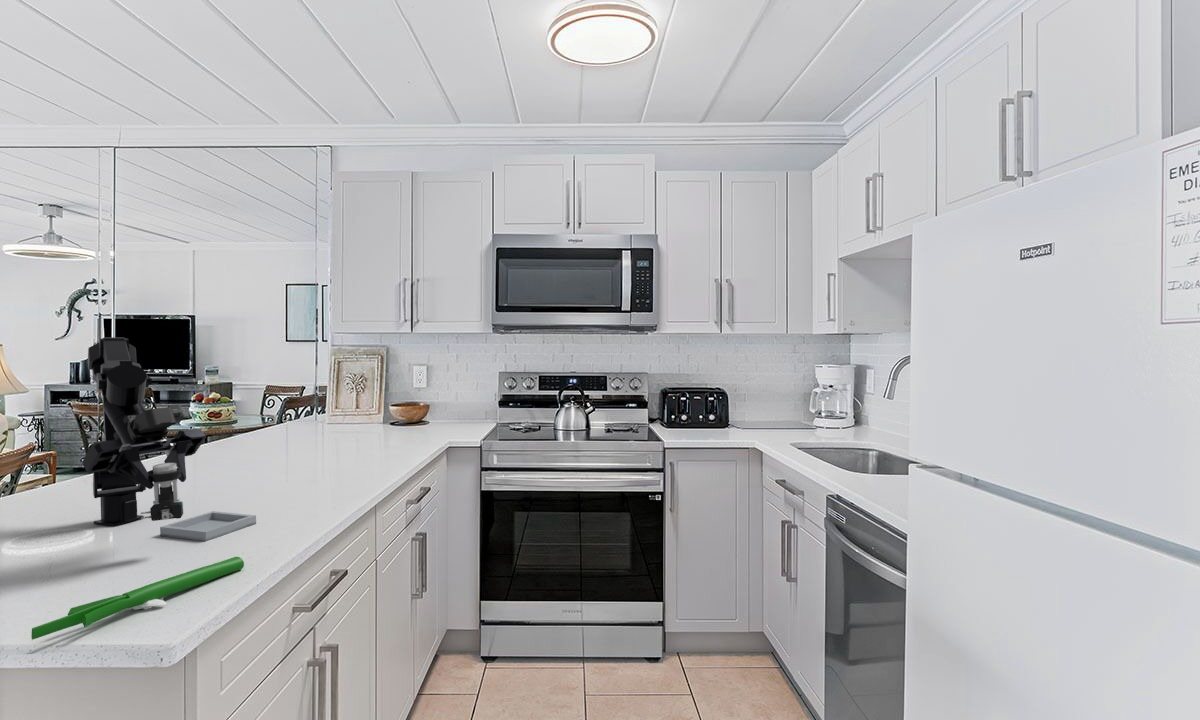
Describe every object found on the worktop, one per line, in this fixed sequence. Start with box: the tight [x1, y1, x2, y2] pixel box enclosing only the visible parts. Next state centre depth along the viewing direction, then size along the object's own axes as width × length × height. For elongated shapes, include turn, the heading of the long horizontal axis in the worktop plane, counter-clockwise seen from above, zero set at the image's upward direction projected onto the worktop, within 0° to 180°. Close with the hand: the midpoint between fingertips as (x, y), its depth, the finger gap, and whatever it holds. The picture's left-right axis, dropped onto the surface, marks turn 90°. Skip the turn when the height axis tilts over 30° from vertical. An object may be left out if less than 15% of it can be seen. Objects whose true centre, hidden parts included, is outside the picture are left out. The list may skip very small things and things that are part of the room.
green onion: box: [31, 556, 245, 641], centre depth 91 cm, size 5×3×30 cm
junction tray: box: [159, 510, 257, 542], centre depth 127 cm, size 12×12×2 cm
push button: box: [140, 462, 184, 522], centre depth 112 cm, size 7×5×10 cm
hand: (168, 483), depth 112 cm, fingers closed on push button, 5 cm apart
